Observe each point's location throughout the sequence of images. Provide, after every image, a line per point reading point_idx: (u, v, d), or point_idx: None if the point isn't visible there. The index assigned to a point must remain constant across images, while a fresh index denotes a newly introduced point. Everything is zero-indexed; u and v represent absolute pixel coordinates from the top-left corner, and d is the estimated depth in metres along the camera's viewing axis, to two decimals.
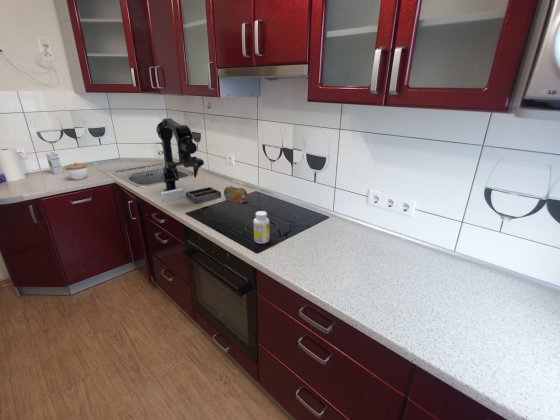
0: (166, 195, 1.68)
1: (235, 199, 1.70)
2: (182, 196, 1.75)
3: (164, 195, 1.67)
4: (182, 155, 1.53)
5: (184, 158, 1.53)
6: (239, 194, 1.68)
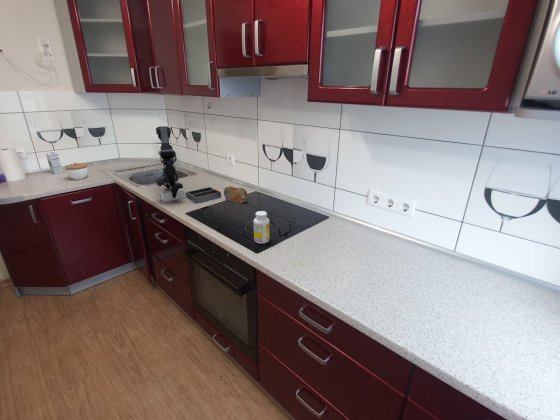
0: (166, 195, 1.68)
1: (235, 199, 1.70)
2: (182, 196, 1.75)
3: (164, 195, 1.67)
4: (163, 174, 1.67)
5: (160, 177, 1.66)
6: (239, 194, 1.68)
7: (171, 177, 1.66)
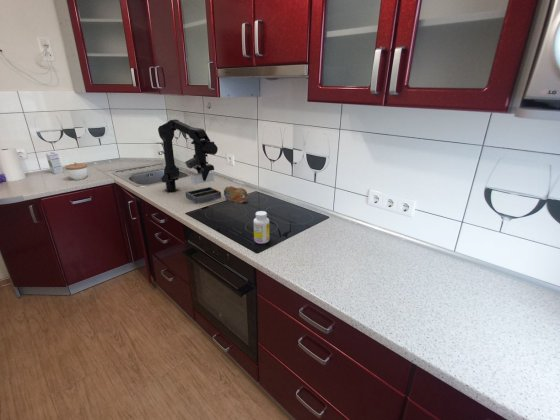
0: (196, 177, 1.65)
1: (235, 199, 1.70)
2: (212, 179, 1.71)
3: (195, 177, 1.64)
4: (193, 156, 1.64)
5: (191, 159, 1.63)
6: (239, 194, 1.68)
7: (202, 159, 1.62)
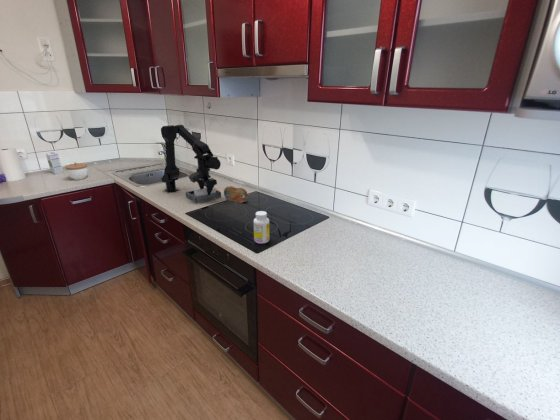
0: (200, 193, 1.69)
1: (235, 199, 1.70)
2: None
3: (198, 193, 1.68)
4: None
5: (194, 173, 1.66)
6: (239, 194, 1.68)
7: (205, 173, 1.66)
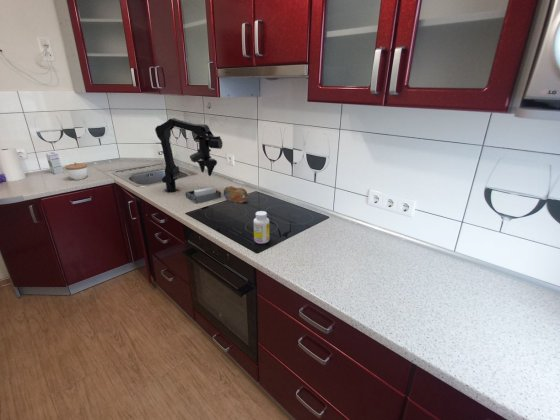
0: (200, 193, 1.69)
1: (235, 199, 1.70)
2: None
3: (198, 193, 1.68)
4: (197, 150, 1.71)
5: (195, 153, 1.70)
6: (239, 194, 1.68)
7: (206, 153, 1.70)
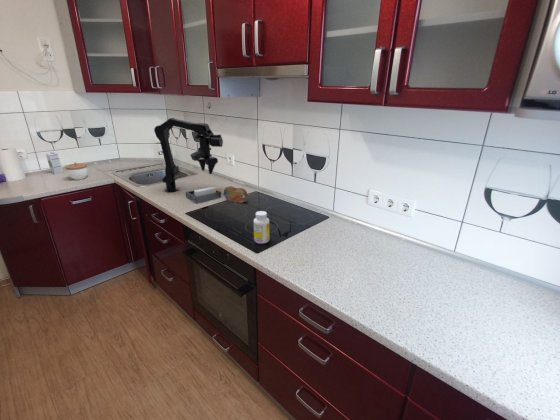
0: (200, 193, 1.69)
1: (235, 199, 1.70)
2: None
3: (198, 193, 1.68)
4: (198, 149, 1.73)
5: (196, 152, 1.72)
6: (239, 194, 1.68)
7: (206, 152, 1.72)
